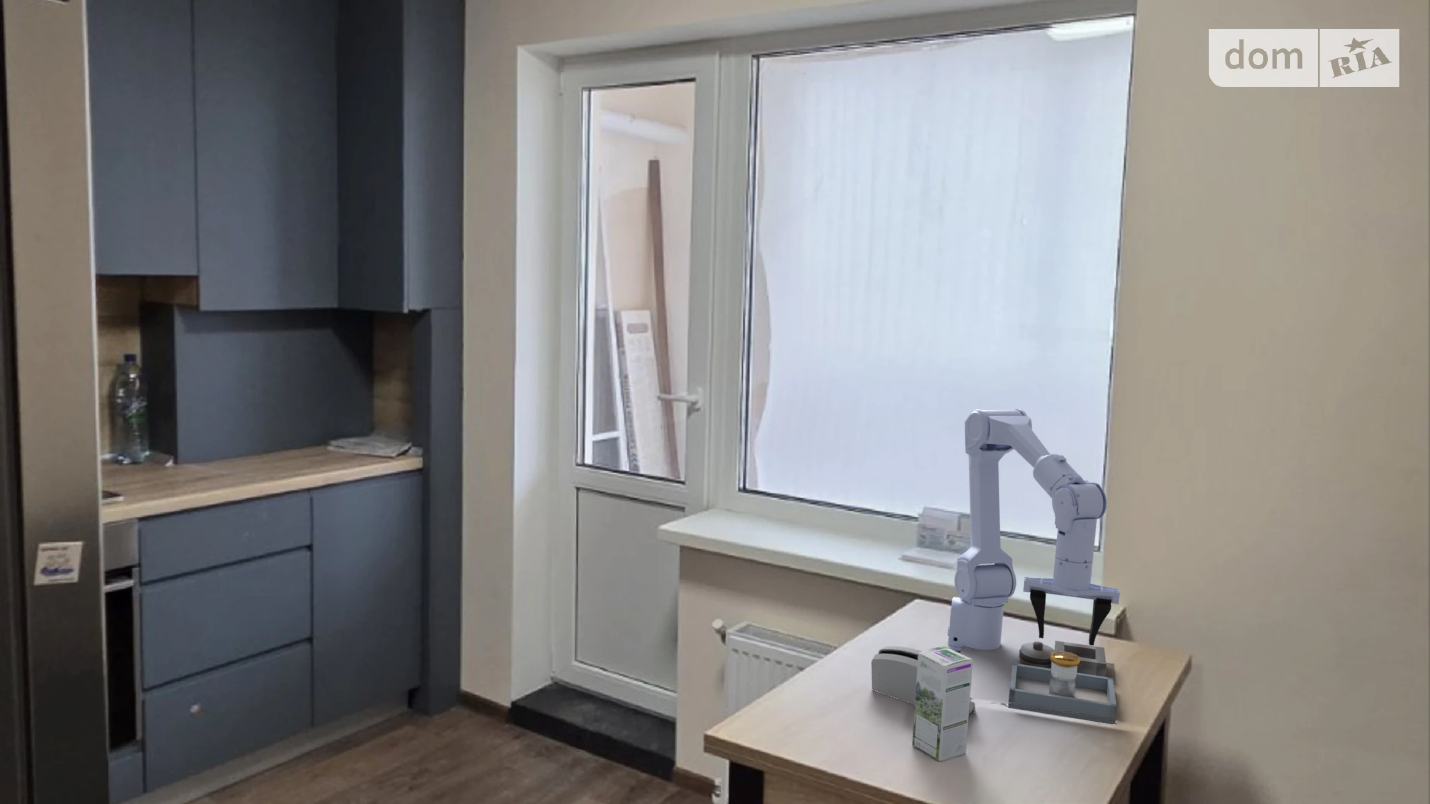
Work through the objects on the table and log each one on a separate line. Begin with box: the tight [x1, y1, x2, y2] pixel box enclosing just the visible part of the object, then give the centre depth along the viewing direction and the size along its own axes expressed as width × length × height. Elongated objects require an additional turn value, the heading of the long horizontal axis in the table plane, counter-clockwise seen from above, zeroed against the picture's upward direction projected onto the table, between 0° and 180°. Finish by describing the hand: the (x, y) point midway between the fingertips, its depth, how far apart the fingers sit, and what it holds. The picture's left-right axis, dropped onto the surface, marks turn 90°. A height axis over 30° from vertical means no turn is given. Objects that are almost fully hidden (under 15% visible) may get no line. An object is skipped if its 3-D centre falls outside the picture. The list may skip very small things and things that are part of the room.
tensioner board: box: [1017, 640, 1118, 686], centre depth 188 cm, size 16×10×4 cm, turn 73°
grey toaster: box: [871, 645, 977, 714], centre depth 172 cm, size 17×5×10 cm, turn 49°
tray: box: [1007, 662, 1118, 725], centre depth 175 cm, size 16×12×3 cm
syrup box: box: [911, 646, 974, 762], centre depth 155 cm, size 6×6×14 cm
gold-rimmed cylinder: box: [1048, 651, 1080, 698], centre depth 175 cm, size 5×5×7 cm
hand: (1066, 639), depth 174 cm, fingers open, 7 cm apart
